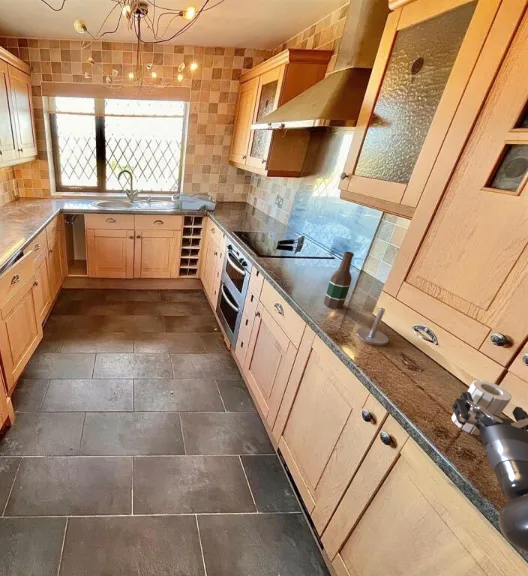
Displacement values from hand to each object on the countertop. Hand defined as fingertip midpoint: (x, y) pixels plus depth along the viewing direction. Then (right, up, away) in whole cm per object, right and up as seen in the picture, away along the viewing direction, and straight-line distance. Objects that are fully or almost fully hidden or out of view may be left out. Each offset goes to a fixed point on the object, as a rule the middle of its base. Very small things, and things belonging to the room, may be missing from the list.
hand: (490, 401), depth 72 cm
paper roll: (+1, -8, +6) cm, 10 cm away
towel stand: (+1, +9, +39) cm, 40 cm away
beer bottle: (+1, +19, +61) cm, 64 cm away
